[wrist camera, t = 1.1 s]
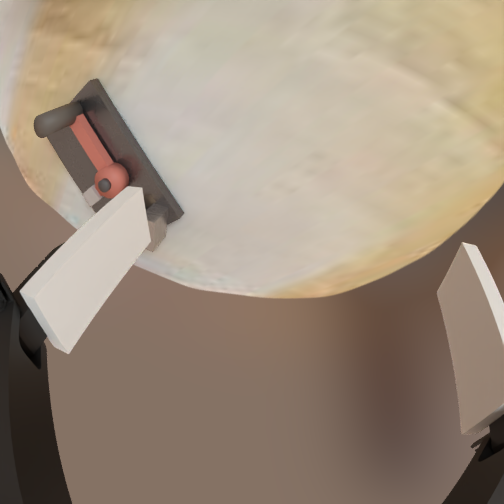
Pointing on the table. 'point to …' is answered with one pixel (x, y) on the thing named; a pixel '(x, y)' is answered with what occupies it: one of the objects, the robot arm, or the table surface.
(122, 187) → the lever
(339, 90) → the table surface
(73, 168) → the base
